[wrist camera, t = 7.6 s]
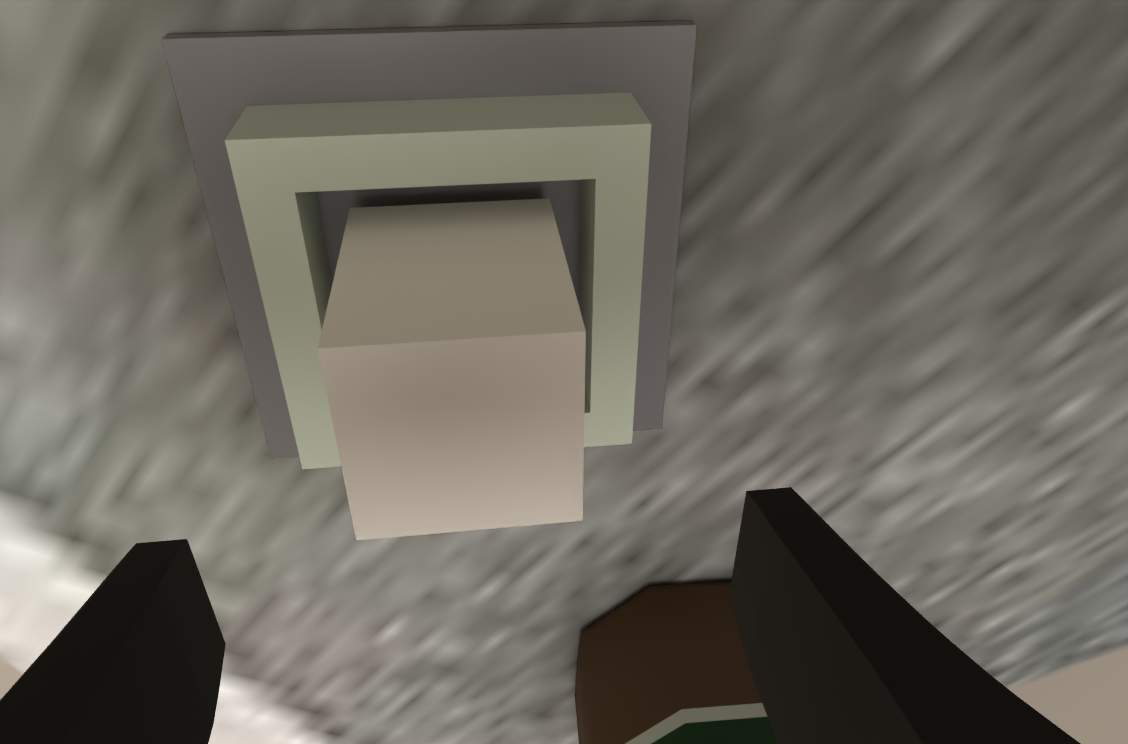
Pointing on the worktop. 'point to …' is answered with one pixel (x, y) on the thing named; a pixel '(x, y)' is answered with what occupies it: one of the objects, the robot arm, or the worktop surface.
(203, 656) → the robot arm
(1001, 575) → the worktop surface
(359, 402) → the plug
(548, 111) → the socket block
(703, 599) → the beer bottle
